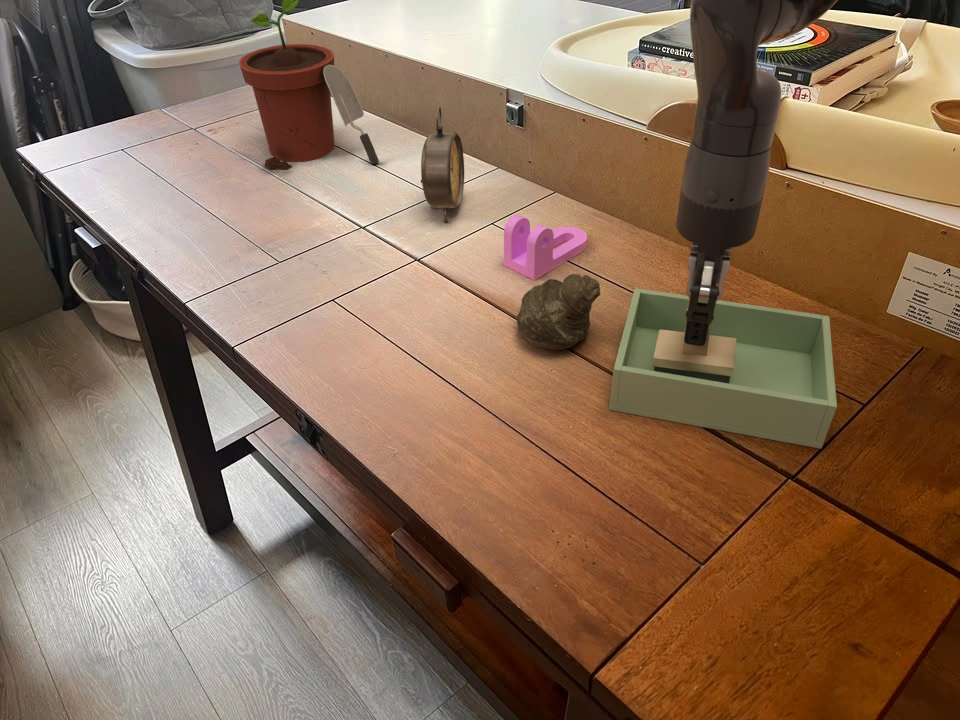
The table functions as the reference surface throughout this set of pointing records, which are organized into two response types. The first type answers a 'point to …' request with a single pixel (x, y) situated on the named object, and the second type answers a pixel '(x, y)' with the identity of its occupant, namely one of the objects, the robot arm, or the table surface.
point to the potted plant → (299, 98)
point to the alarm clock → (442, 169)
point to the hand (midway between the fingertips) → (695, 333)
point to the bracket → (539, 246)
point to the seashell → (558, 311)
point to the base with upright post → (695, 356)
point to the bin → (756, 377)
